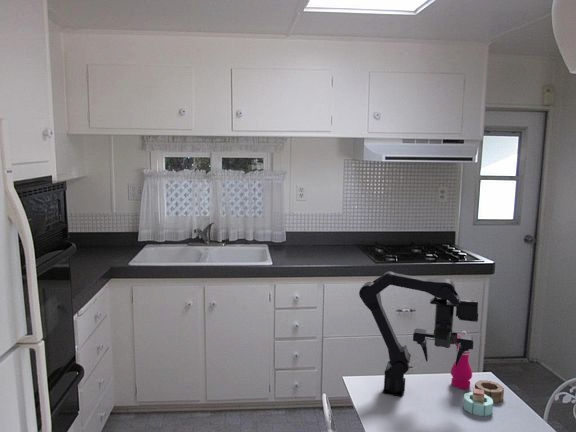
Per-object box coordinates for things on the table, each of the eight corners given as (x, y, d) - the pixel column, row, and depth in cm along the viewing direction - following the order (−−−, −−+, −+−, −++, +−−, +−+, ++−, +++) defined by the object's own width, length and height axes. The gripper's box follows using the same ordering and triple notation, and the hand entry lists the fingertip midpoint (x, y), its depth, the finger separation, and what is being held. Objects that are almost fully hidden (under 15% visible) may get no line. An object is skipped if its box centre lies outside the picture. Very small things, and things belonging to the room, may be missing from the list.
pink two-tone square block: (472, 410, 152) (473, 392, 151) (472, 405, 155) (473, 388, 154) (482, 412, 151) (484, 394, 150) (482, 407, 154) (483, 390, 153)
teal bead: (463, 412, 150) (464, 402, 150) (463, 400, 158) (463, 390, 158) (493, 418, 147) (493, 407, 147) (491, 405, 156) (491, 395, 155)
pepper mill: (473, 390, 165) (476, 335, 163) (451, 388, 167) (455, 333, 165) (469, 381, 172) (473, 328, 170) (448, 379, 174) (452, 326, 172)
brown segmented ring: (482, 402, 157) (483, 392, 157) (470, 389, 166) (471, 380, 166) (507, 402, 158) (508, 392, 157) (494, 389, 166) (495, 380, 166)
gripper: (412, 321, 151) (410, 368, 153) (475, 329, 145) (472, 378, 147) (415, 311, 162) (413, 355, 163) (474, 318, 155) (470, 364, 157)
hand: (441, 363), depth 157 cm, fingers open, 9 cm apart
